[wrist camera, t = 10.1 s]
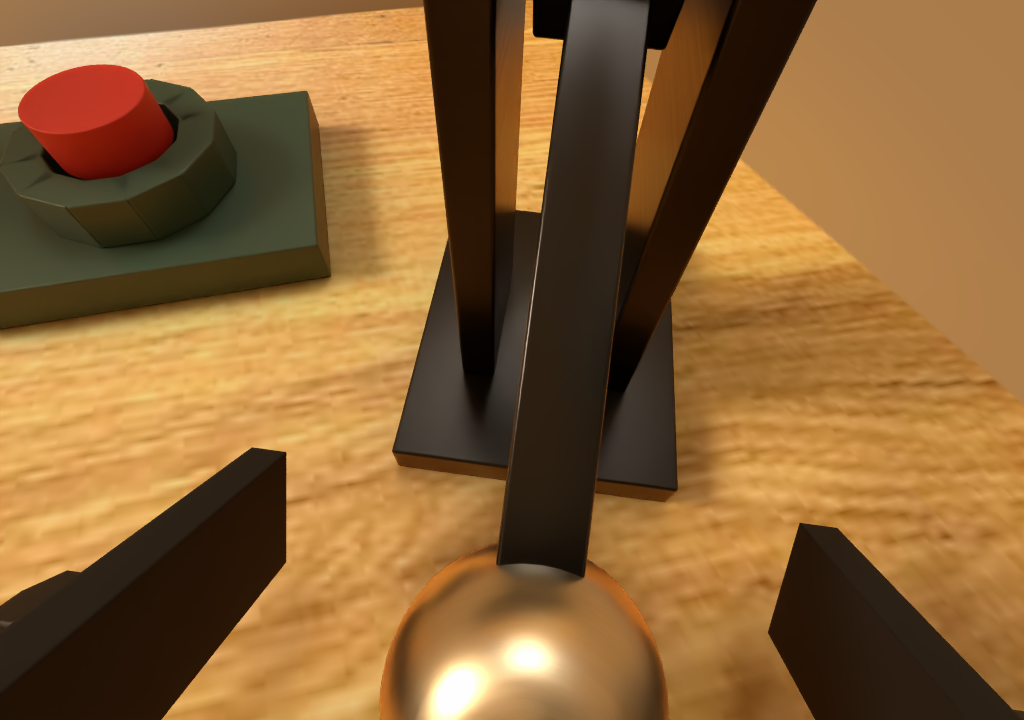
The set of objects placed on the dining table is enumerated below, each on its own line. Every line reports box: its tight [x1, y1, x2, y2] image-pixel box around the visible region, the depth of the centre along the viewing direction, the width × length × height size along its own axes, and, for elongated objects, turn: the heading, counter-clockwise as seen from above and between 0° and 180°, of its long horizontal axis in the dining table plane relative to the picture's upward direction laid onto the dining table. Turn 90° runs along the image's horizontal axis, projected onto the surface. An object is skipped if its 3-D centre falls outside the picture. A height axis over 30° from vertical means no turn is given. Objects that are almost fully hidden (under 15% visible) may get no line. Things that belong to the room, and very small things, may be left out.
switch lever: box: [379, 0, 685, 720], centre depth 7 cm, size 14×4×4 cm, turn 172°
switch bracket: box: [392, 0, 817, 502], centre depth 12 cm, size 10×8×14 cm
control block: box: [0, 79, 331, 329], centre depth 19 cm, size 12×9×4 cm
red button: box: [18, 65, 174, 180], centre depth 17 cm, size 4×4×2 cm
